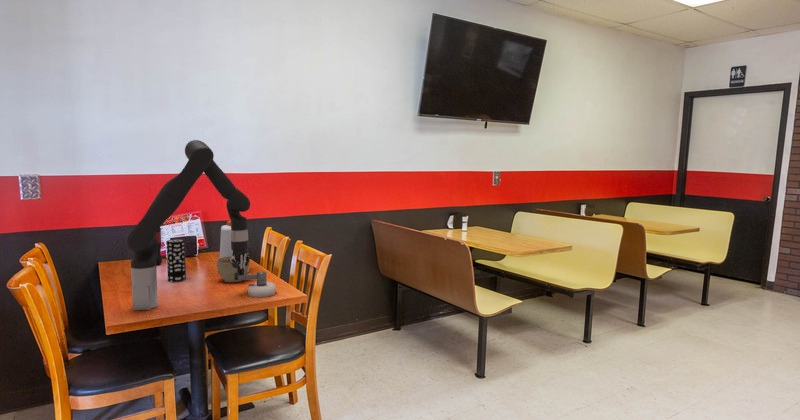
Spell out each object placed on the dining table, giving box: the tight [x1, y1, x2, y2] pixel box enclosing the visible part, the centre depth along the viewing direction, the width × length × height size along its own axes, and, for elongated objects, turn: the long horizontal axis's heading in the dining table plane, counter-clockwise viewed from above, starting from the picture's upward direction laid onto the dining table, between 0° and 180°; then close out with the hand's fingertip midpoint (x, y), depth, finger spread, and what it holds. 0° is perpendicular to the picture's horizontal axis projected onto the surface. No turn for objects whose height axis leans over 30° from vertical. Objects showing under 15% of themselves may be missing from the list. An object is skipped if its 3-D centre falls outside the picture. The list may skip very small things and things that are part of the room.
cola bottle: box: [156, 226, 163, 267], centre depth 268 cm, size 8×8×30 cm
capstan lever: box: [234, 270, 268, 286], centre depth 218 cm, size 14×4×6 cm, turn 99°
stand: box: [247, 281, 276, 299], centre depth 219 cm, size 12×12×5 cm
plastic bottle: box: [219, 219, 250, 273], centre depth 257 cm, size 15×15×28 cm
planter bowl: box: [215, 256, 251, 283], centre depth 240 cm, size 16×16×11 cm
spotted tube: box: [165, 238, 187, 283], centre depth 238 cm, size 8×8×20 cm
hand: (240, 276), depth 220 cm, fingers closed
